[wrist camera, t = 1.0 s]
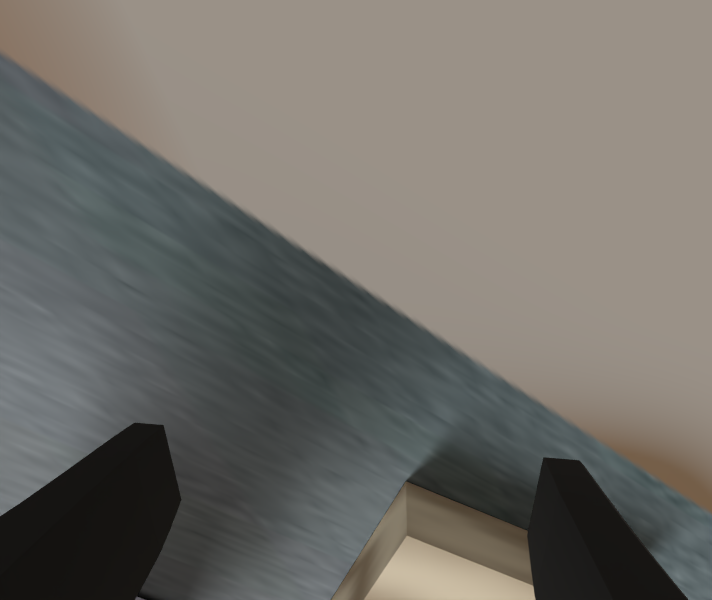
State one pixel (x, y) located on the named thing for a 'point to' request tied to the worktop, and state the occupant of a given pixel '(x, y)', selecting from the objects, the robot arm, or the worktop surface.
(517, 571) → the birch plinth
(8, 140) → the worktop surface
